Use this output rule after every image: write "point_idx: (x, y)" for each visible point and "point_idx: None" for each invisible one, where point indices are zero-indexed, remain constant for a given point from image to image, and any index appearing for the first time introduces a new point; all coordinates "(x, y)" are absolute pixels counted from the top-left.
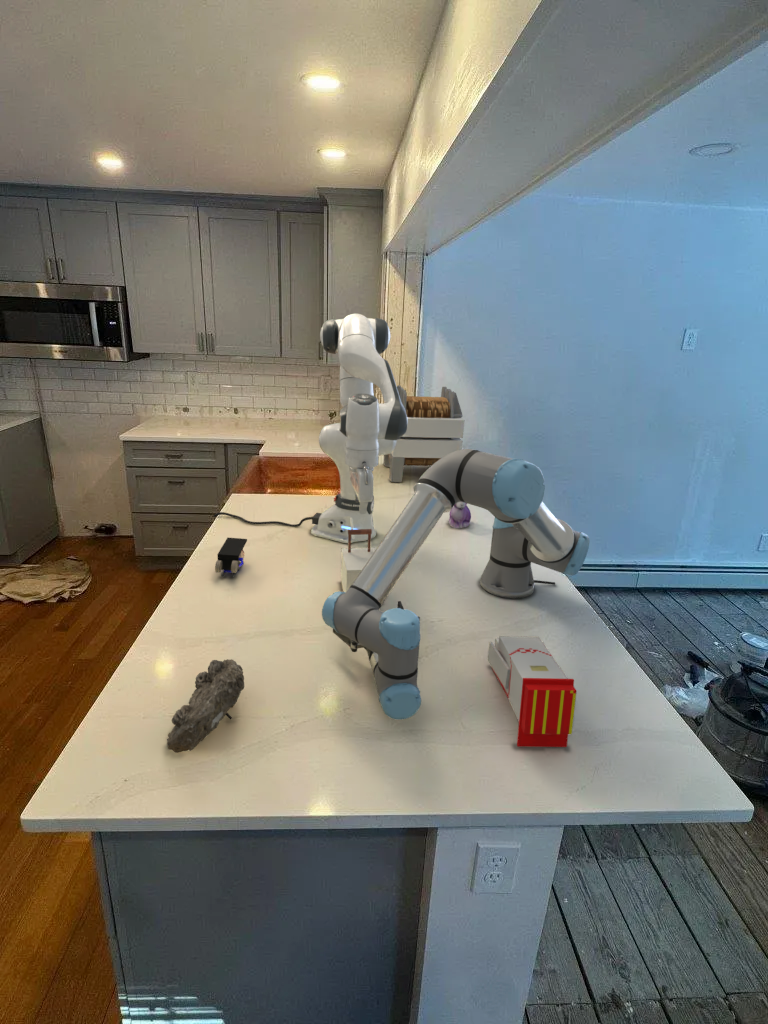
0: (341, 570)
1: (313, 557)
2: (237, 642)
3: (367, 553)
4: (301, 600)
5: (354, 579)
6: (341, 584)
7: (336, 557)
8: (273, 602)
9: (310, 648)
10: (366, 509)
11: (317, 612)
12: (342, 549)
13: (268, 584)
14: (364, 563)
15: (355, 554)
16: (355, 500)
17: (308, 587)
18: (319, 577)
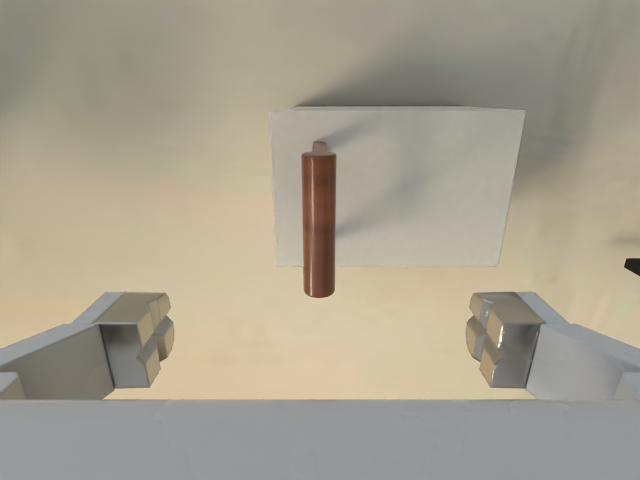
0: None
1: (112, 285)
2: None
3: (342, 158)
4: (393, 327)
5: None
6: None
7: (103, 214)
8: (392, 386)
9: (625, 317)
10: (555, 312)
11: (466, 293)
12: (288, 262)
13: (295, 397)
14: (449, 187)
15: (348, 214)
16: (167, 353)
17: (321, 308)
18: (258, 276)
